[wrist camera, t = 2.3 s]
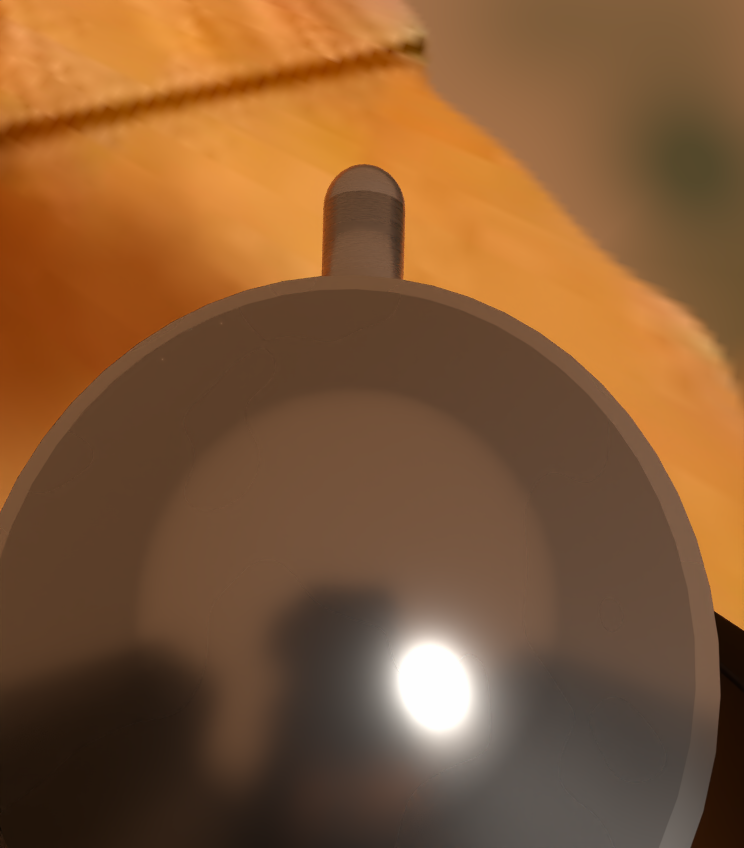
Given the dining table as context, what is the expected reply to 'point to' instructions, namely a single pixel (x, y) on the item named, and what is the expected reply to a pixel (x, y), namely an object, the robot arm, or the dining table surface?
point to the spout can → (351, 584)
